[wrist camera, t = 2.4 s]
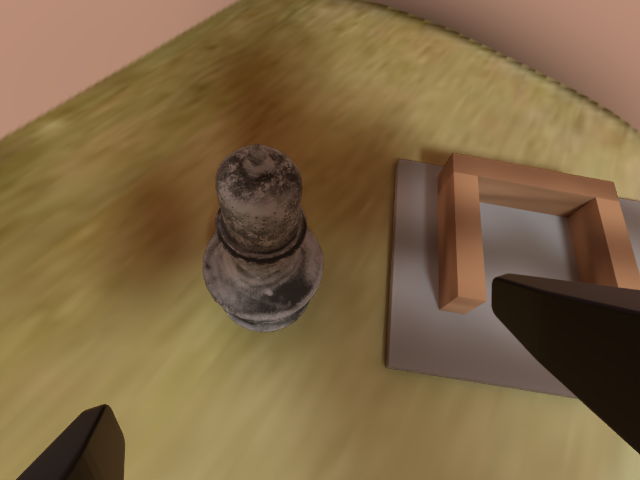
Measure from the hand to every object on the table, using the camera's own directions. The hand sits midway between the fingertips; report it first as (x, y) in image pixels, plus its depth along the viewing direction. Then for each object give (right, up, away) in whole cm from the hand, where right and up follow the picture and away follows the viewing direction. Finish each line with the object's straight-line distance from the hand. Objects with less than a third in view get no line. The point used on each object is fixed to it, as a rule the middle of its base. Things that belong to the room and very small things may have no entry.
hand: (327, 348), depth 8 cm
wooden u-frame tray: (+14, 0, +15) cm, 21 cm away
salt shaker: (-3, 0, +13) cm, 14 cm away
